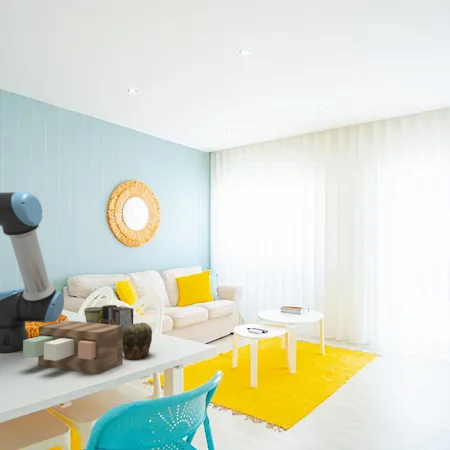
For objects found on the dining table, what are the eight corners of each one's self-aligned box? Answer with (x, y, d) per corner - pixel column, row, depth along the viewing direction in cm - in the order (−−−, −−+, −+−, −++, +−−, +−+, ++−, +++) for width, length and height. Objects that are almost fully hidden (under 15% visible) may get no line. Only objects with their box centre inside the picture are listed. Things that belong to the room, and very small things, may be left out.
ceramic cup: (79, 329, 195) (80, 308, 196) (97, 326, 203) (97, 306, 204) (95, 333, 187) (96, 311, 188) (113, 329, 195) (113, 308, 196)
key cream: (43, 359, 127) (44, 343, 127) (65, 352, 135) (65, 336, 135) (55, 360, 125) (56, 344, 125) (76, 353, 133) (77, 338, 133)
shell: (158, 354, 150) (158, 322, 151) (137, 362, 141) (138, 327, 141) (136, 350, 156) (136, 319, 156) (115, 357, 146) (115, 324, 147)
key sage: (22, 356, 130) (23, 340, 130) (45, 349, 139) (45, 334, 139) (34, 357, 128) (34, 341, 129) (56, 350, 137) (56, 335, 137)
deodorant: (112, 343, 167) (112, 307, 167) (99, 343, 168) (99, 306, 169) (118, 340, 173) (119, 305, 173) (106, 339, 174) (106, 304, 174)
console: (38, 364, 137) (38, 326, 138) (64, 355, 149) (65, 320, 149) (98, 374, 127) (99, 332, 128) (122, 363, 138) (122, 325, 139)
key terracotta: (77, 357, 128) (78, 341, 128) (97, 351, 136) (97, 336, 137) (90, 359, 126) (90, 343, 126) (109, 352, 134) (109, 337, 135)
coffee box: (134, 349, 157) (134, 308, 158) (119, 352, 153) (119, 310, 153) (121, 345, 164) (122, 305, 165) (107, 348, 159) (107, 307, 160)
